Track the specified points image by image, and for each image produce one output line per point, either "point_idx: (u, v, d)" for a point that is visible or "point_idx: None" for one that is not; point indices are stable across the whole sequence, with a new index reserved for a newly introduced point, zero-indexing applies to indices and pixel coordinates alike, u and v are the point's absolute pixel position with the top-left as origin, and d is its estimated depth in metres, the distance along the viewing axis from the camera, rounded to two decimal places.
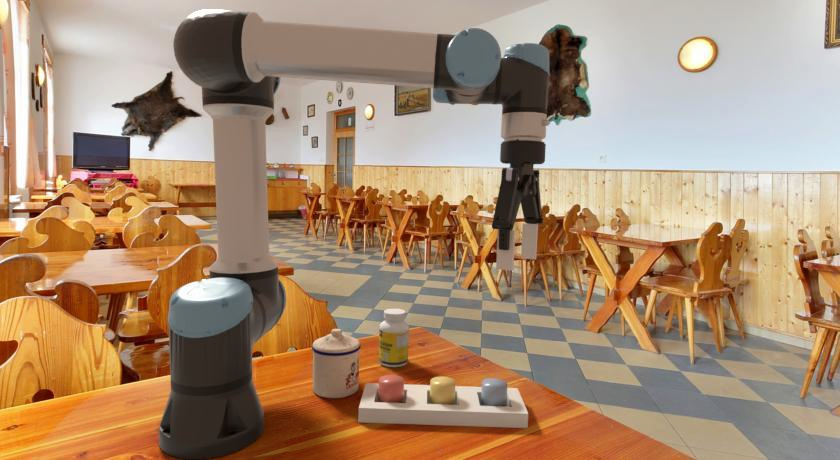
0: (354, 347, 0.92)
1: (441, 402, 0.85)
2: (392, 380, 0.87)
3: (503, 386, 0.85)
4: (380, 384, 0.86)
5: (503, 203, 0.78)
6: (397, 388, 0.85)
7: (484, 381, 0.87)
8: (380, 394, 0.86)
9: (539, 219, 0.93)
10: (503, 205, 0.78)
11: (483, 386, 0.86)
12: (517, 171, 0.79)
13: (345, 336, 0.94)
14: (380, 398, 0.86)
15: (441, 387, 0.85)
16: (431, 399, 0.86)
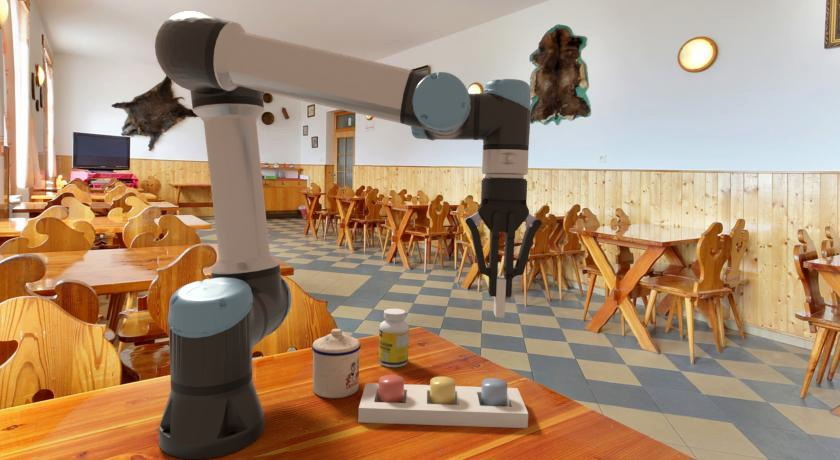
0: (354, 347, 0.92)
1: (441, 402, 0.85)
2: (392, 380, 0.87)
3: (503, 386, 0.85)
4: (380, 384, 0.86)
5: (475, 253, 0.84)
6: (397, 388, 0.85)
7: (484, 381, 0.87)
8: (380, 394, 0.86)
9: (510, 275, 0.83)
10: None
11: (483, 386, 0.86)
12: (467, 222, 0.83)
13: (345, 336, 0.94)
14: (380, 398, 0.86)
15: (441, 387, 0.85)
16: (431, 399, 0.86)
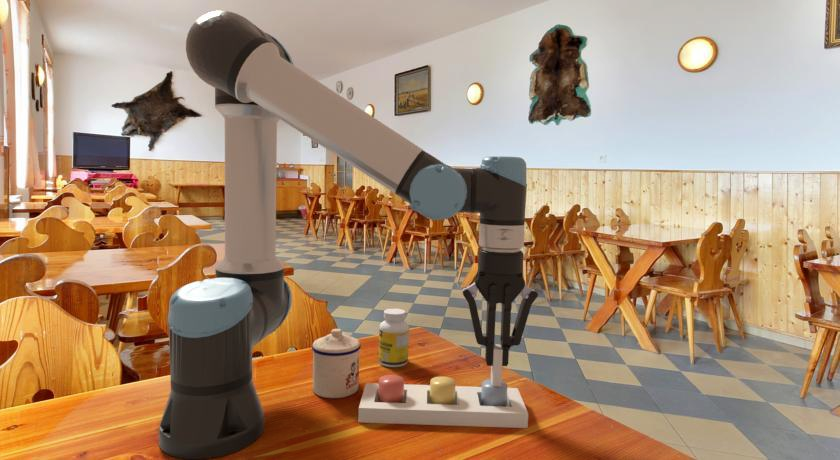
0: (354, 347, 0.92)
1: (441, 402, 0.85)
2: (392, 380, 0.87)
3: (503, 387, 0.85)
4: (380, 384, 0.86)
5: (472, 322, 0.86)
6: (397, 388, 0.85)
7: (484, 382, 0.87)
8: (380, 394, 0.86)
9: (507, 345, 0.85)
10: None
11: (483, 387, 0.86)
12: (464, 294, 0.84)
13: (345, 336, 0.94)
14: (380, 398, 0.86)
15: (441, 387, 0.85)
16: (431, 399, 0.86)
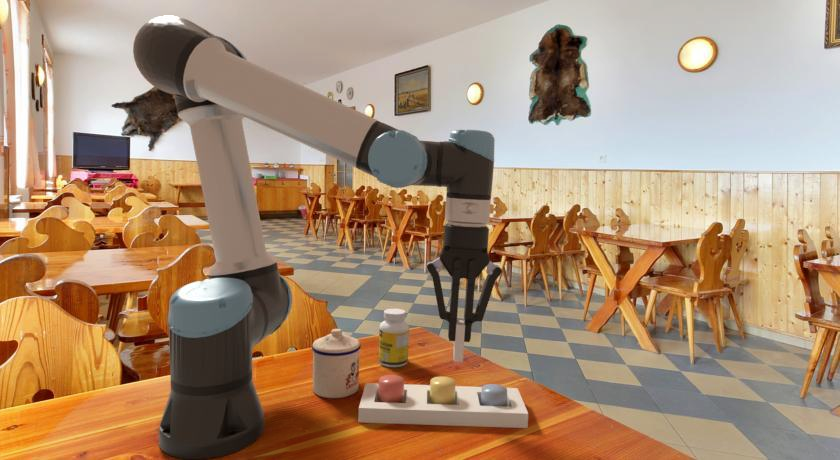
0: (354, 347, 0.92)
1: (441, 402, 0.85)
2: (392, 380, 0.87)
3: (502, 392, 0.86)
4: (380, 384, 0.86)
5: None
6: (397, 388, 0.85)
7: (484, 387, 0.88)
8: (380, 394, 0.86)
9: (469, 321, 0.84)
10: None
11: (483, 392, 0.86)
12: (428, 268, 0.84)
13: (345, 336, 0.94)
14: (380, 398, 0.86)
15: (441, 387, 0.85)
16: (431, 399, 0.86)
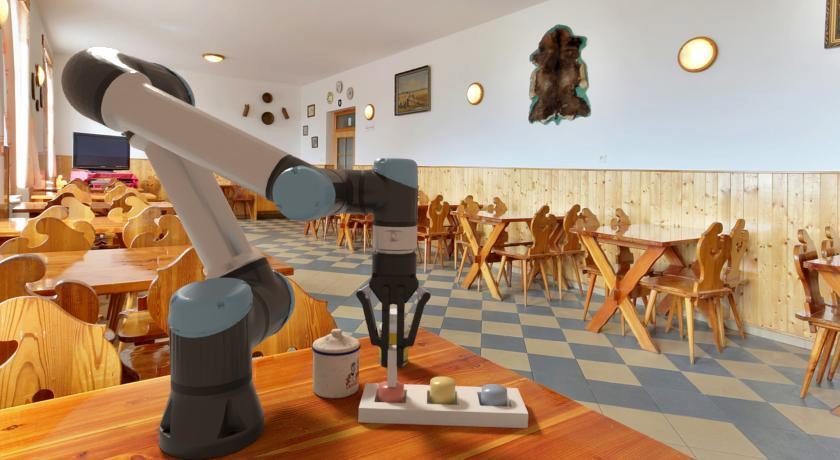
0: (354, 347, 0.92)
1: (441, 402, 0.85)
2: None
3: (502, 392, 0.86)
4: (380, 390, 0.86)
5: None
6: (397, 394, 0.85)
7: (484, 387, 0.88)
8: (380, 399, 0.86)
9: (400, 346, 0.85)
10: None
11: (483, 392, 0.86)
12: (357, 295, 0.84)
13: (345, 336, 0.94)
14: None
15: (441, 387, 0.85)
16: (431, 399, 0.86)
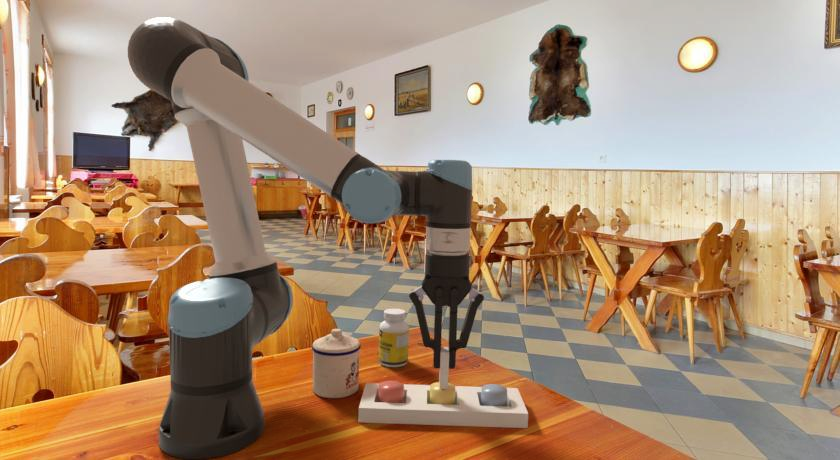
0: (354, 347, 0.92)
1: None
2: (392, 386, 0.87)
3: (502, 392, 0.86)
4: (380, 390, 0.86)
5: None
6: (397, 394, 0.85)
7: (484, 387, 0.88)
8: (380, 400, 0.86)
9: (453, 348, 0.85)
10: None
11: (483, 392, 0.86)
12: (411, 297, 0.84)
13: (345, 336, 0.94)
14: None
15: (441, 393, 0.85)
16: None
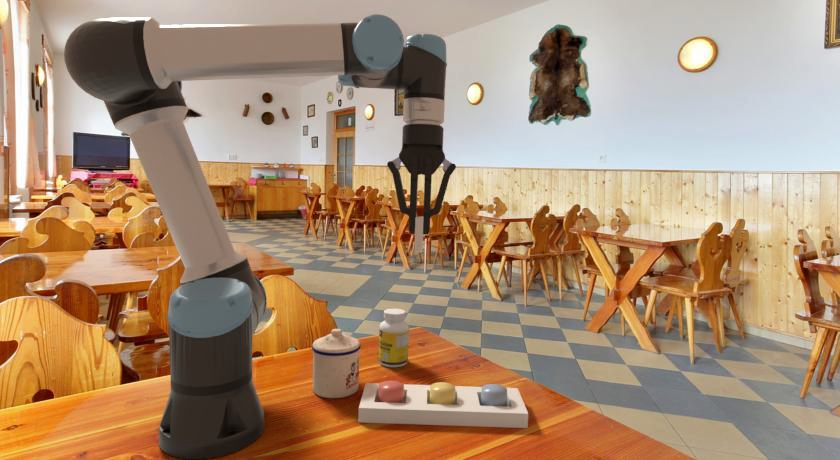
0: (354, 347, 0.92)
1: None
2: (392, 386, 0.87)
3: (502, 392, 0.86)
4: (380, 390, 0.86)
5: None
6: (397, 394, 0.85)
7: (484, 387, 0.88)
8: (380, 400, 0.86)
9: (427, 214, 0.92)
10: None
11: (483, 392, 0.86)
12: (388, 165, 0.91)
13: (345, 336, 0.94)
14: None
15: (441, 393, 0.85)
16: None
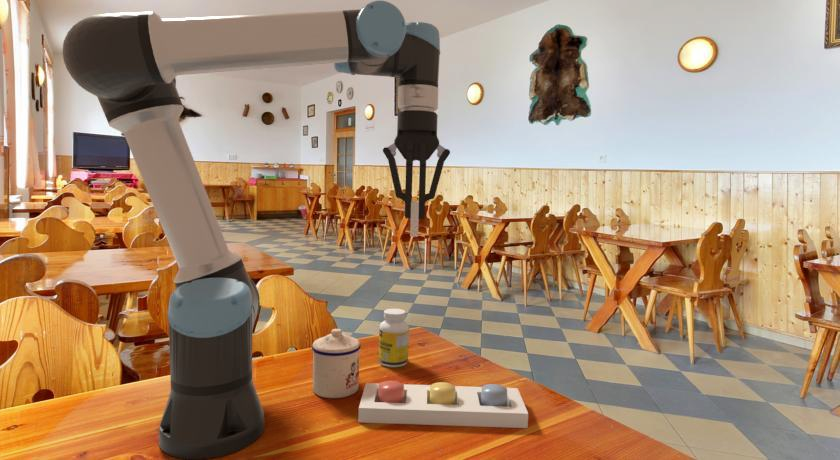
0: (354, 347, 0.92)
1: None
2: (392, 386, 0.87)
3: (502, 392, 0.86)
4: (380, 390, 0.86)
5: None
6: (397, 394, 0.85)
7: (484, 387, 0.88)
8: (380, 400, 0.86)
9: (422, 198, 0.94)
10: None
11: (483, 392, 0.86)
12: (384, 151, 0.93)
13: (345, 336, 0.94)
14: None
15: (441, 393, 0.85)
16: None
